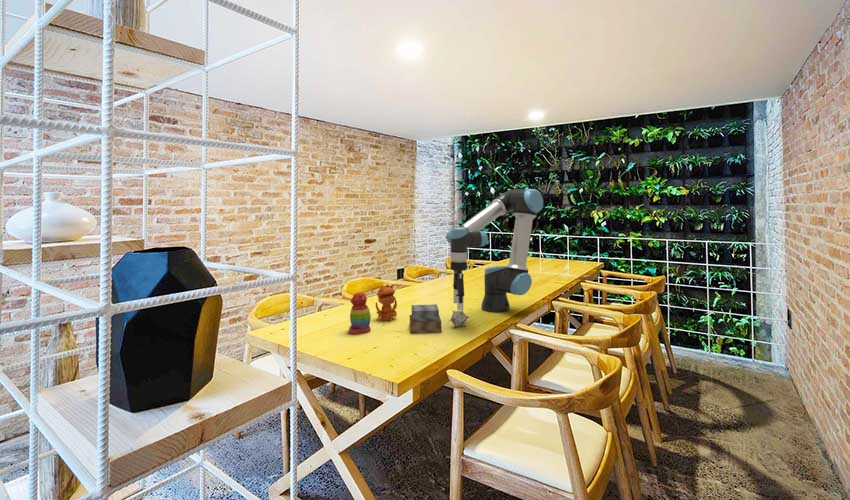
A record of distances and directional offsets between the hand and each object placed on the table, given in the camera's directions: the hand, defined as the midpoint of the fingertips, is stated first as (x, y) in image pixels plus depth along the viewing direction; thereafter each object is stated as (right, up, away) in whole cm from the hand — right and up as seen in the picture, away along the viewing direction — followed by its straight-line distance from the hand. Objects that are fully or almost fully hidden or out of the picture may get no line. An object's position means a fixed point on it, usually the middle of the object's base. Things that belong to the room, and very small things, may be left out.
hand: (458, 306), depth 202 cm
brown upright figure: (-34, -9, +16) cm, 39 cm away
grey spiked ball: (0, -10, +1) cm, 10 cm away
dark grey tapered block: (-15, -10, 0) cm, 19 cm away
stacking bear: (-45, -11, -2) cm, 47 cm away
